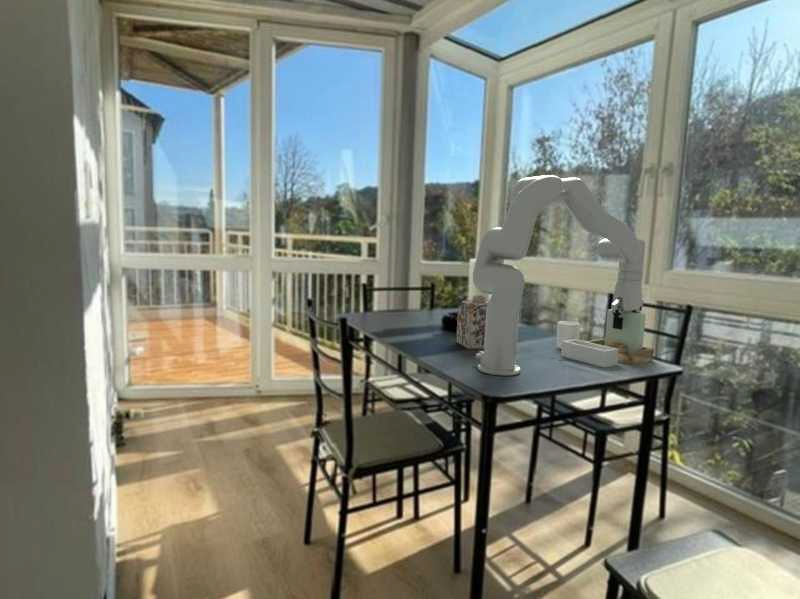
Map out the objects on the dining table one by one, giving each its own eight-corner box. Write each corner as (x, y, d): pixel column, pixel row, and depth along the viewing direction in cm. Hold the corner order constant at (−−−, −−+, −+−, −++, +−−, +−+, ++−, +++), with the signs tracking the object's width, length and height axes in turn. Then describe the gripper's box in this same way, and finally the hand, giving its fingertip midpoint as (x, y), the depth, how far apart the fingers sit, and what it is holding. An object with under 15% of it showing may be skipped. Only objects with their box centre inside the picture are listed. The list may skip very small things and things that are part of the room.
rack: (582, 355, 182) (583, 341, 182) (603, 352, 189) (604, 338, 189) (632, 368, 168) (633, 352, 167) (652, 363, 175) (653, 348, 174)
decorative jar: (485, 341, 200) (487, 293, 197) (498, 348, 188) (501, 298, 186) (455, 342, 196) (457, 293, 194) (467, 349, 185) (469, 298, 183)
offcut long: (600, 354, 181) (600, 347, 181) (605, 353, 183) (606, 346, 183) (621, 359, 175) (622, 352, 175) (627, 358, 177) (627, 351, 176)
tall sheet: (603, 352, 184) (607, 309, 182) (608, 351, 186) (612, 309, 184) (636, 360, 175) (641, 315, 172) (641, 359, 176) (646, 314, 174)
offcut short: (607, 348, 179) (608, 342, 179) (612, 347, 181) (613, 341, 180) (621, 351, 175) (621, 345, 175) (626, 350, 177) (626, 344, 176)
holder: (560, 358, 177) (562, 341, 176) (573, 356, 181) (575, 339, 180) (604, 370, 164) (605, 351, 163) (617, 367, 168) (618, 348, 167)
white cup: (583, 352, 187) (585, 324, 186) (563, 353, 185) (566, 325, 184) (569, 347, 195) (571, 320, 193) (550, 348, 192) (552, 321, 191)
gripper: (633, 274, 185) (629, 323, 187) (604, 276, 174) (600, 328, 177) (654, 276, 179) (650, 326, 181) (625, 278, 168) (621, 332, 171)
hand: (625, 327), depth 179 cm, fingers open, 9 cm apart
